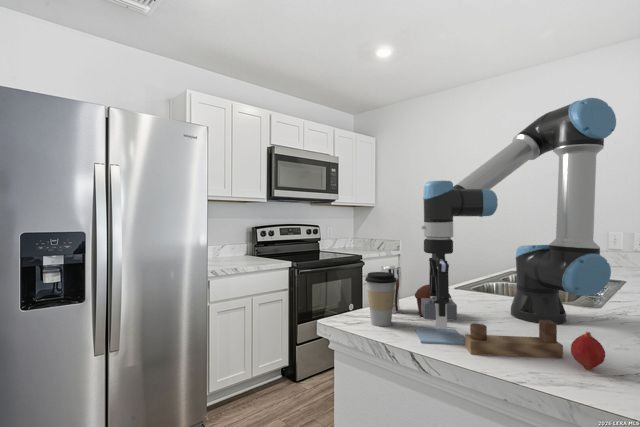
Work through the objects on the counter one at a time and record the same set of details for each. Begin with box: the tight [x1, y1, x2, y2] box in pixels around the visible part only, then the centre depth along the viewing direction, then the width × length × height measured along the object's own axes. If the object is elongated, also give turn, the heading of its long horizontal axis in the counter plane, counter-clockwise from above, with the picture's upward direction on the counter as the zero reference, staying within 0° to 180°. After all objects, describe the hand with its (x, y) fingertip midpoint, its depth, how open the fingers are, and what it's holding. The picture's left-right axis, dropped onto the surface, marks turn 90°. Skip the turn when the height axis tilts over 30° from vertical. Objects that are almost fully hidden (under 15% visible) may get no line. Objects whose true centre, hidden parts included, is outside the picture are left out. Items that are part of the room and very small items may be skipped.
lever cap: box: [421, 297, 458, 321], centre depth 95 cm, size 8×6×5 cm
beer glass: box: [380, 265, 402, 314], centre depth 121 cm, size 7×7×15 cm
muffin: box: [414, 284, 453, 319], centre depth 114 cm, size 12×11×10 cm
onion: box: [570, 331, 606, 371], centre depth 74 cm, size 6×6×8 cm
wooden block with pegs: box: [464, 320, 564, 359], centre depth 84 cm, size 20×5×8 cm, turn 82°
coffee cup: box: [364, 271, 396, 327], centre depth 107 cm, size 9×9×15 cm
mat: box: [414, 327, 465, 346], centre depth 95 cm, size 11×11×1 cm
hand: (438, 323), depth 95 cm, fingers closed on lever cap, 6 cm apart
